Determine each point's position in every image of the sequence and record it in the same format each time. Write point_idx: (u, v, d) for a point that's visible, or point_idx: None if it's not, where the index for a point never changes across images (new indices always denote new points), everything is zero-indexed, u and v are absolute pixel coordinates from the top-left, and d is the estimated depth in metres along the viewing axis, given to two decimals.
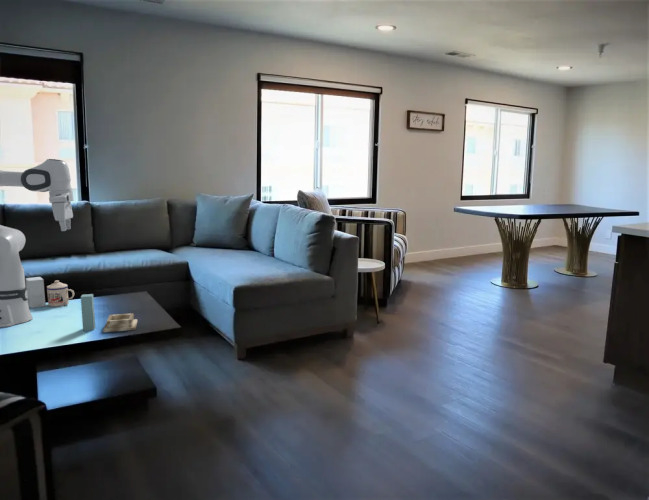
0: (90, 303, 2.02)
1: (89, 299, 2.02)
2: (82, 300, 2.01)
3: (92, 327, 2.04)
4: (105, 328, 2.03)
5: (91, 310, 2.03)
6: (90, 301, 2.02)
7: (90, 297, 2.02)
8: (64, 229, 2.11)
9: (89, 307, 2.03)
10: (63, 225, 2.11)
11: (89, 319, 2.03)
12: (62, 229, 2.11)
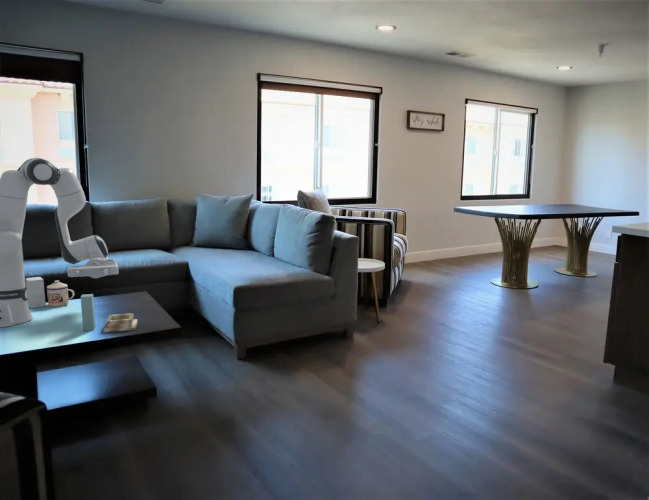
0: (90, 303, 2.02)
1: (89, 299, 2.02)
2: (82, 300, 2.01)
3: (92, 327, 2.04)
4: (105, 328, 2.03)
5: (91, 310, 2.03)
6: (90, 301, 2.02)
7: (90, 297, 2.02)
8: (105, 273, 2.16)
9: (89, 307, 2.03)
10: (106, 272, 2.18)
11: (89, 319, 2.03)
12: (105, 272, 2.16)
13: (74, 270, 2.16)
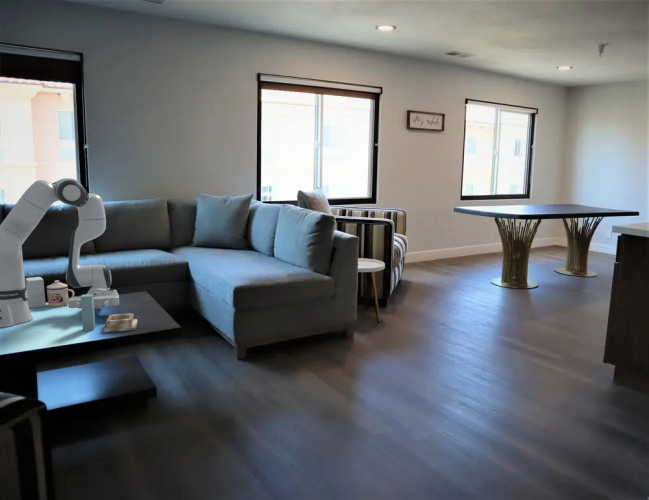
0: (90, 303, 2.02)
1: (89, 299, 2.02)
2: (82, 300, 2.01)
3: (92, 327, 2.04)
4: (105, 328, 2.03)
5: (91, 310, 2.03)
6: (90, 301, 2.02)
7: (90, 297, 2.02)
8: (105, 305, 2.15)
9: (89, 307, 2.03)
10: (107, 304, 2.17)
11: (89, 319, 2.03)
12: (105, 303, 2.15)
13: (74, 301, 2.15)
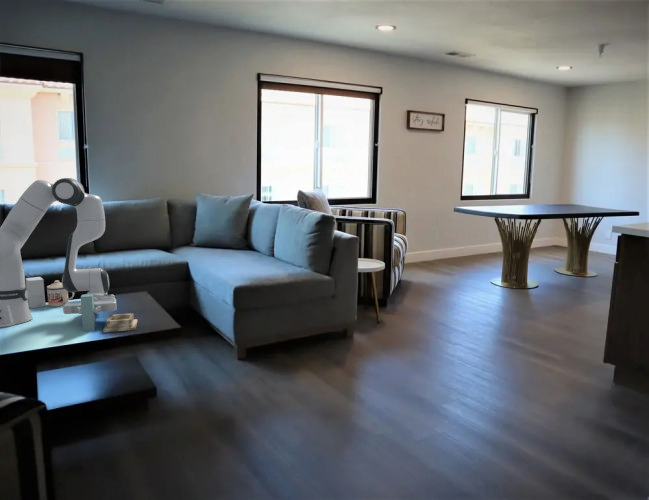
0: (90, 303, 2.02)
1: (89, 299, 2.02)
2: (82, 300, 2.01)
3: (92, 327, 2.04)
4: (105, 328, 2.03)
5: (91, 310, 2.03)
6: (90, 301, 2.02)
7: (90, 297, 2.02)
8: (97, 311, 2.05)
9: (89, 307, 2.03)
10: (99, 310, 2.07)
11: (89, 319, 2.03)
12: (97, 309, 2.05)
13: (70, 307, 2.06)
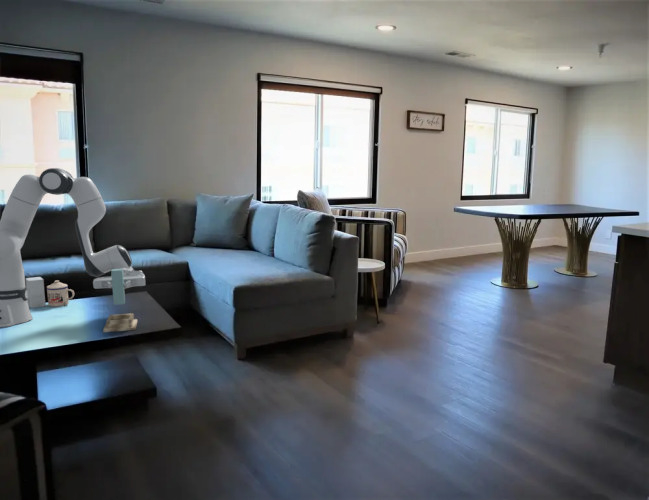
0: (120, 277, 2.04)
1: (119, 273, 2.04)
2: (113, 274, 2.03)
3: (122, 301, 2.06)
4: (105, 328, 2.03)
5: (121, 284, 2.05)
6: (120, 275, 2.04)
7: (120, 271, 2.04)
8: (127, 285, 2.07)
9: (120, 281, 2.04)
10: (128, 284, 2.09)
11: (119, 293, 2.05)
12: (127, 283, 2.07)
13: (100, 281, 2.08)
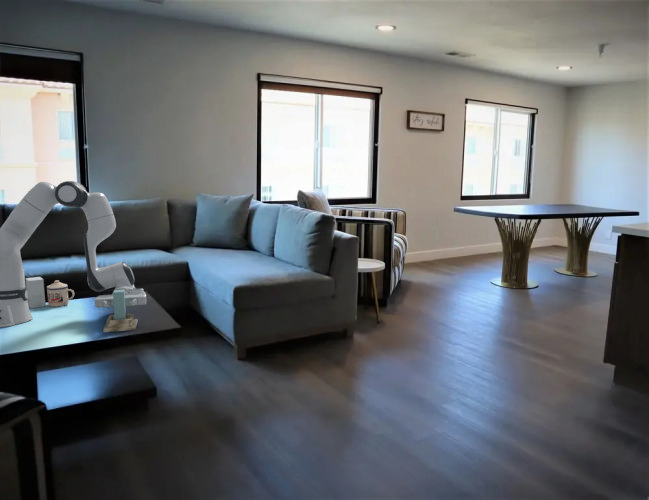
0: (122, 299, 2.06)
1: (121, 295, 2.05)
2: (114, 296, 2.05)
3: None
4: (105, 328, 2.03)
5: (123, 305, 2.06)
6: (122, 297, 2.05)
7: (122, 293, 2.05)
8: (133, 304, 2.09)
9: (121, 302, 2.06)
10: (135, 303, 2.11)
11: (121, 314, 2.06)
12: (133, 302, 2.09)
13: (102, 300, 2.09)
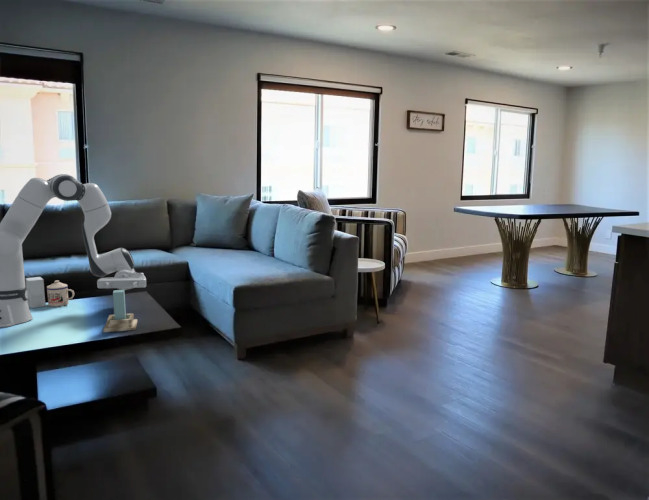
0: (122, 299, 2.06)
1: (121, 295, 2.05)
2: (114, 296, 2.05)
3: None
4: (105, 328, 2.03)
5: (123, 305, 2.06)
6: (122, 297, 2.05)
7: (122, 293, 2.05)
8: (134, 286, 2.20)
9: (121, 302, 2.06)
10: (135, 285, 2.22)
11: (120, 314, 2.06)
12: (134, 284, 2.20)
13: (104, 282, 2.20)
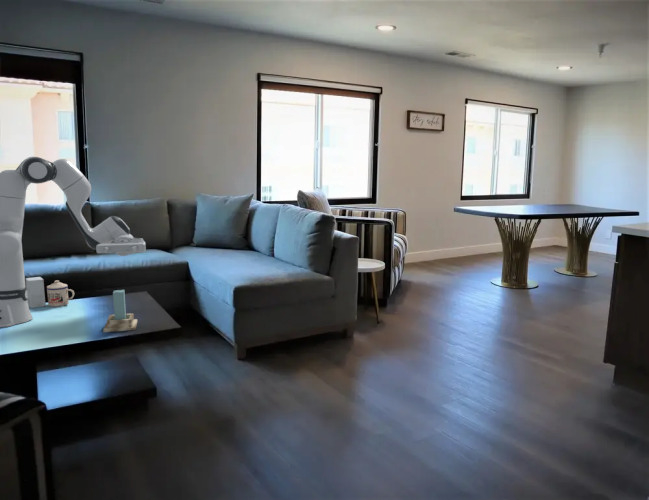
0: (122, 299, 2.06)
1: (121, 295, 2.05)
2: (114, 296, 2.05)
3: None
4: (105, 328, 2.03)
5: (123, 305, 2.06)
6: (122, 297, 2.05)
7: (122, 293, 2.05)
8: (133, 250, 2.18)
9: (121, 302, 2.06)
10: (135, 249, 2.20)
11: (120, 314, 2.06)
12: (133, 248, 2.18)
13: (103, 246, 2.18)
